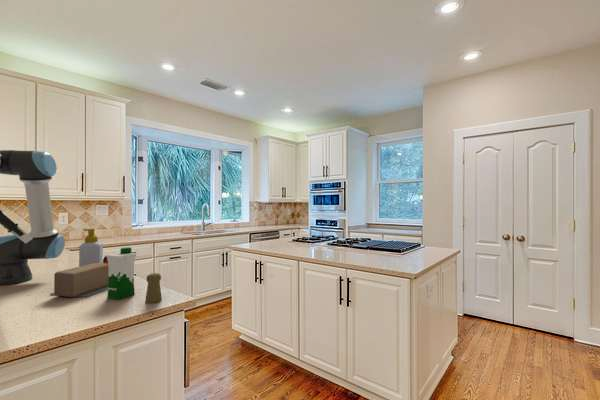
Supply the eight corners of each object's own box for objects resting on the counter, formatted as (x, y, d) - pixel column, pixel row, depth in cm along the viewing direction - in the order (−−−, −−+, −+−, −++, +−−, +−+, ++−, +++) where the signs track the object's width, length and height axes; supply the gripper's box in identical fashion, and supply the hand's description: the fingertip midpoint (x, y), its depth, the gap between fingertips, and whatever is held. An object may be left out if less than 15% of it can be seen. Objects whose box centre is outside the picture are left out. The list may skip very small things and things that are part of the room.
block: (73, 273, 119) (113, 263, 138) (53, 272, 121) (95, 262, 140) (72, 298, 119) (113, 284, 138) (52, 296, 121) (95, 283, 140)
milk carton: (138, 294, 125) (138, 248, 125) (118, 301, 117) (119, 251, 117) (123, 292, 128) (123, 246, 128) (103, 298, 120) (103, 250, 120)
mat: (86, 283, 142) (86, 282, 142) (119, 284, 139) (119, 283, 139) (50, 294, 124) (50, 293, 124) (87, 297, 121) (87, 295, 121)
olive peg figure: (145, 304, 113) (145, 276, 113) (145, 300, 119) (145, 272, 119) (162, 302, 116) (162, 274, 116) (161, 297, 121) (161, 271, 121)
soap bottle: (83, 274, 157) (83, 228, 157) (102, 273, 161) (103, 227, 161) (78, 279, 149) (78, 230, 149) (99, 277, 153) (99, 229, 153)
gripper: (-47, 199, 100) (14, 245, 113) (-41, 201, 92) (23, 250, 105) (-22, 185, 104) (33, 231, 117) (-15, 187, 97) (44, 235, 110)
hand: (28, 240), depth 111 cm, fingers closed
